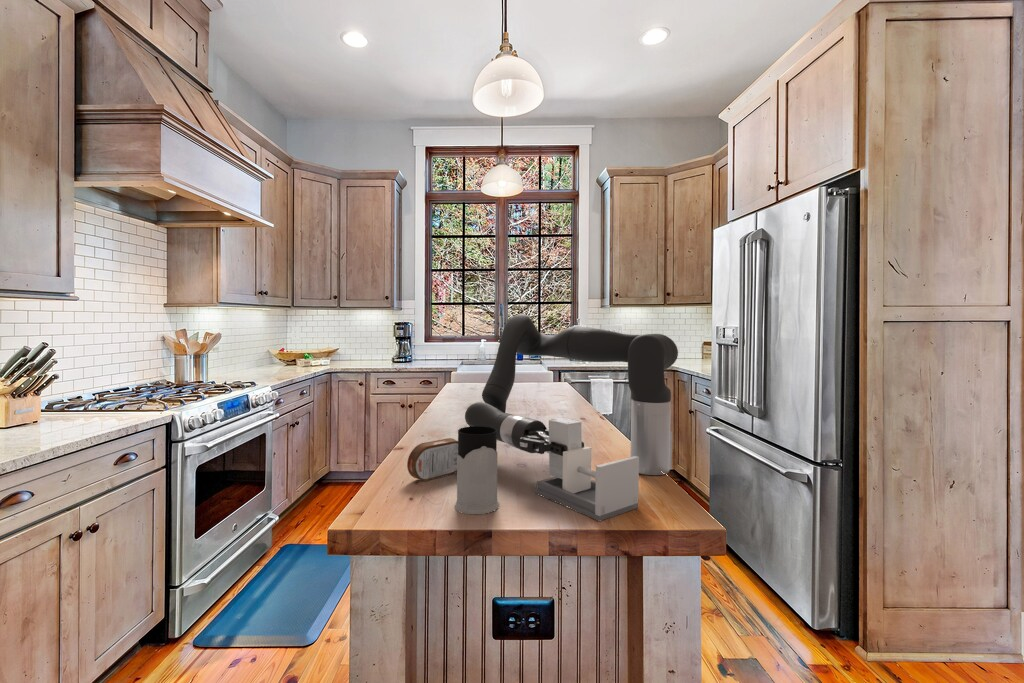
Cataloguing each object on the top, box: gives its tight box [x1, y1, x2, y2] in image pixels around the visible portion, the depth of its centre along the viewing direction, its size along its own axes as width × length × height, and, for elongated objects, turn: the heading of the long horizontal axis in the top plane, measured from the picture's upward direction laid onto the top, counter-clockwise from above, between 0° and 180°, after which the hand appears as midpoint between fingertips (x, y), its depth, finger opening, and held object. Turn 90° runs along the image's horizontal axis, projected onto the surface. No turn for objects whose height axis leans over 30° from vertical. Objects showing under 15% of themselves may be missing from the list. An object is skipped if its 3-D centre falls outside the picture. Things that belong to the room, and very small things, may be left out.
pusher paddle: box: [562, 446, 596, 493], centre depth 100 cm, size 7×6×9 cm
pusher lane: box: [534, 456, 640, 522], centre depth 100 cm, size 11×18×10 cm, turn 37°
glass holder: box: [454, 426, 500, 515], centre depth 99 cm, size 9×14×15 cm, turn 22°
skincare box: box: [548, 417, 583, 479], centre depth 105 cm, size 6×4×12 cm
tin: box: [406, 437, 458, 482], centre depth 115 cm, size 15×3×8 cm, turn 134°
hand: (574, 449), depth 103 cm, fingers closed on skincare box, 4 cm apart
